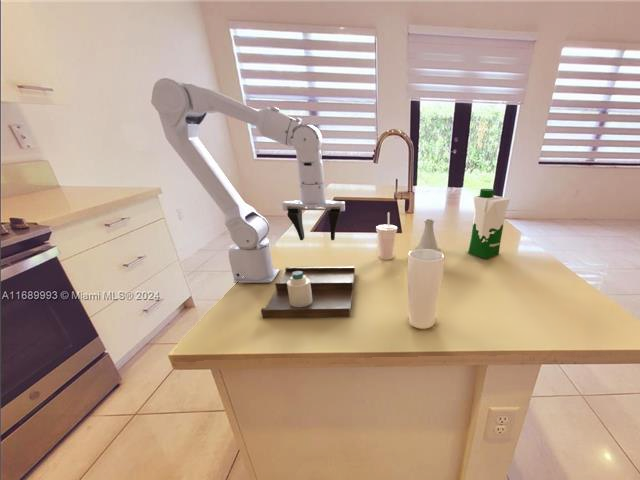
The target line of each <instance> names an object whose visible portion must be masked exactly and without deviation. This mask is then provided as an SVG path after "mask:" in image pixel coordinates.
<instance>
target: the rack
mask: <svg viewBox="0 0 640 480" xmlns="http://www.w3.org/2000/svg"><path fill="white" fill-rule="evenodd" d="M284 270H285V271H284V273H283V274H282V276H281V278H280V279H279V281H276V282H275V289H276V290H275V292H274V294H273V295H272V297H271V298H270V300H269V302H268V303H267V305H266V306H265V307H262V308H261V309H260V312H261V317H262V319H288V318H289V319H290V318H291V319H293V318H297V319H298V318H349V317H351V310H352V302H353V295H354V288H355V281H356V280H355V279H356V266H286V267H285V268H284ZM296 271H301V272H303V275H305V276H306V278H308V279H309V280H310V284H311V292H312V300H313V301H312V303H311V304H310V305H308V306H305V307H294V306H292V305H291V304H290V300H289V294H288V287H287V282H288V281H289V280H290V277H291V276H292V273H293V272H296Z"/></svg>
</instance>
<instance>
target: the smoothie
mask: <svg viewBox="0 0 640 480" xmlns="http://www.w3.org/2000/svg"><path fill="white" fill-rule="evenodd" d="M390 214H391V213H390V212H389V211H388V212H387V224H378V225H376V227H375V231H376V232H377V241H378V247H379V255H380V256H379V257H380V259H381V260H386V261H390V260H391V259H393V257H394V250H395V242H396V237H397V232H398V226H396V225H393V224H391V223H390V218H391V217H390V216H391V215H390Z"/></svg>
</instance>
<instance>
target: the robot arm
mask: <svg viewBox="0 0 640 480" xmlns="http://www.w3.org/2000/svg"><path fill="white" fill-rule="evenodd" d="M150 103H151V105H152V106H153V107H154V109H155V110H156V111H157V113H158V116H159V120H160V123H161V126H162V127H161V128H162V129H163V133H164V136H165V138H166V140H167V142H168V143H169V145H170V146H171V147H172V149H173V150H174V151H175V152H176V154H177V155H178V156H179V157H180V159H181V160H182V161H183V163H184V164H185V166H186V167H187V168H188V169H189V170H190V172H191V173H192V174H193V176H194V177H195V178H196V179H197V181H198V182H199V183H200V185H201V186H202V187H203V189H204V190H205V191H206V192H207V194H208V195H209V196H210V198H211V199H212V200H213V201H214V202H215V204H216V205H217V206H218V208H219V209H220V210H221V212H222V213H223V215H224V225H225V227H226V228H227V229H228V231H229V234H230V238H231V240H232V241H233V243H234V244H231V245H230V247H229V249H228V260H229V264H230V269H231V272H232V277H233V283H234V284H256V283H257V284H261V283H262V284H263V283H264V284H265V283H266V284H267V283H268V284H270V283H272V282H273V281H274V279H275V278H276V276H277V275H278V274H279V272H280V269H279V268H274V264H273V263H274V262H273V258H272V251H271V246H270V241H269V239H268V238H267V235H268V234H269V232H270V223H269V222H268V220H267V219H266V218H265V217H264V216H263V215H261V214H260V213H258V212H257V211H256V209H255V208H254V207H253V206H252V205H250V204H248V203H246V202H245V201H244V199H243V198H242V197H241V196H240V194H239V193H238V191H237V190H236V188H235V187H234V186H233V184H232V183H231V182H230V181H229V179H228V178H227V177H226V175H225V173H224V172H223V171H222V169H221V168H220V167H219V164H217V162H216V161H215V160H214V158H213V157H212V155H211V154H210V153H209V151H208V150H207V148H205V145H203V143H202V142H201V140H200V139H199V135H200V128H201V125H202V124H203V122H204V120H205V118H206V117H207V115H208V114H216V113H219V114H222V115H224V116H228V117H230V118H233V119H236V120H238V121H240V122H243V123H246V124H248V125H249V124H250V125H251V126H253V127H255V128H256V130H257V131H258V133H259V135H260V136H262V137H264V138H267V139H270V140H272V141H275V142H277V143H280V144H282V145H285V146H287V147H293V149H294V150H295V155H296V167H297V177H298V185H299V193H300V199H299V200H283V201H282V202H281V206H282V211H283V212H285V211H286V212H287V213H286V215H287V218H288V219H289V220H290V221H291V224H292V225H293V226H294V228H295V231H296V233H297V235H298V237H299V241H304V239H305V230H304V224H303V211H329V212H328V219H329V225H330V241H335V238H336V230H337V229H336V228H337V224H338V222H339V218H340V215H341V212H345V211H346V201H339V200H330V199H329V200H327V196H326V185H325V173H324V172H325V171H324V162H323V159H322V157H323V153H322V150H321V147H322V145H323V136H322V133H321V132H320V130H319V128H317V127H316V126H314V125H313V124H311V123H302V121H303V120H302V118H300V117H295V118H294V117H292V116H290V115H287V114H285V113H282V112H280V108H278V107H277V106H273V105H272V106H271V107H268V106H265V107H262V108H261V109H256V108H254V107H251V106H249V105H247V104H245V103H243V102H241V101H238V100H236V99H234V98H232V97H230V96H228V95H225V94H223V93H221V92H218V91H217V90H213V89H209V88H205V87H201V86H197V85H195V84H191V83H185V82H181V81H178V80H177V81H176V80H175V79H171V78H168V77H162V78H159V79H158V80H156V81H155V82H154V85H153V87H152V92H151V101H150ZM243 276H244V277H243ZM242 277H243V278H242ZM237 282H238V283H237Z"/></svg>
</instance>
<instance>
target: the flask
mask: <svg viewBox="0 0 640 480" xmlns="http://www.w3.org/2000/svg"><path fill="white" fill-rule="evenodd" d="M434 223H435V220H434V219H429V218H428V219H424V229H423V233H422V236H421V238H420V240H419V242H418V245H417V248H416V250H417V249H432V250H436V251H439V246H438V242H437V239H436V234H435V229H434Z"/></svg>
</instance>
